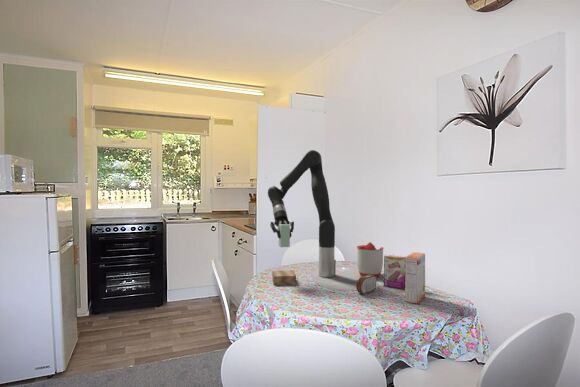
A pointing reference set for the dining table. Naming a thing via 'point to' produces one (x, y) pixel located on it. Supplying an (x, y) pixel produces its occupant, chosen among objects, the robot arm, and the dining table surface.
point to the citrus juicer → (369, 260)
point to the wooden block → (284, 277)
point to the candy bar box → (394, 271)
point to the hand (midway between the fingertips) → (285, 237)
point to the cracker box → (414, 277)
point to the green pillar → (284, 235)
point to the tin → (366, 283)
